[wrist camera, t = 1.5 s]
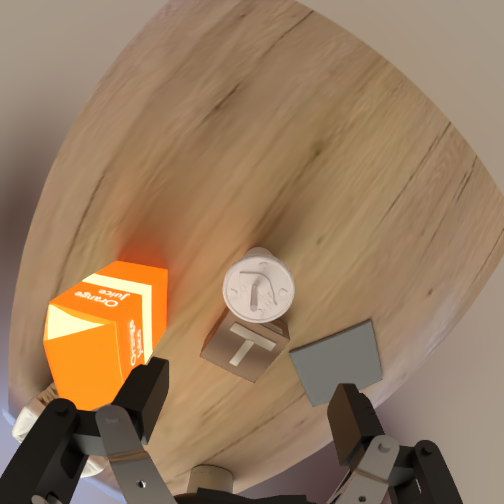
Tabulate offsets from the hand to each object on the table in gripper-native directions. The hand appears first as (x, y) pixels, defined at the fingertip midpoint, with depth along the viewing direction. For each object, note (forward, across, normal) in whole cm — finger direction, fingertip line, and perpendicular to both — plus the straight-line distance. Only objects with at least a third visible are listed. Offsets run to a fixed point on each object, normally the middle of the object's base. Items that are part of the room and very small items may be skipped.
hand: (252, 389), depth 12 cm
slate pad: (+22, -15, +14) cm, 30 cm away
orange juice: (+22, +14, +7) cm, 28 cm away
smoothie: (+22, 0, 0) cm, 23 cm away
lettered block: (+22, 0, +10) cm, 25 cm away
